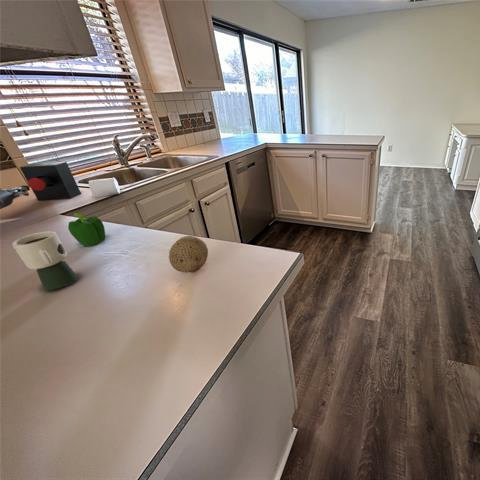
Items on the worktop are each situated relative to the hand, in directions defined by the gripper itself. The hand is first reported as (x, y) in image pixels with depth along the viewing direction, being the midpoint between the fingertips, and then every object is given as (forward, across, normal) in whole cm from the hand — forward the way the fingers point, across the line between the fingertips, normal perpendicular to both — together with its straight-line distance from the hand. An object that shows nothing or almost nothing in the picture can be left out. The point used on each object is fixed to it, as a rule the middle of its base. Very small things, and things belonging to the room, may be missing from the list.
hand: (26, 187), depth 113 cm
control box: (+15, 0, +9) cm, 17 cm away
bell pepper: (-45, -45, +10) cm, 64 cm away
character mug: (-68, -50, +10) cm, 85 cm away
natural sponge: (-70, -81, +10) cm, 108 cm away
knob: (+8, 0, +3) cm, 9 cm away
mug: (+14, -22, +9) cm, 28 cm away
